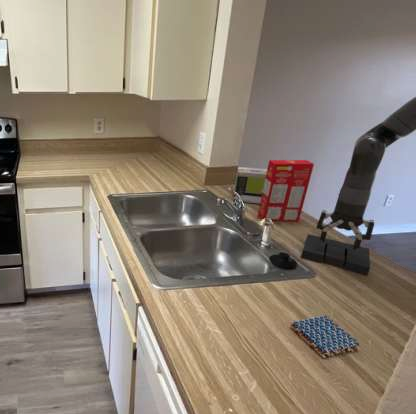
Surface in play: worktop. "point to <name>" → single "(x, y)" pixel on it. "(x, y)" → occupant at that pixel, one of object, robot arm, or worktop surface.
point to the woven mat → (324, 336)
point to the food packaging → (285, 190)
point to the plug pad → (334, 256)
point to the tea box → (250, 184)
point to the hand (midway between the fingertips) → (338, 244)
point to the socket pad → (353, 258)
